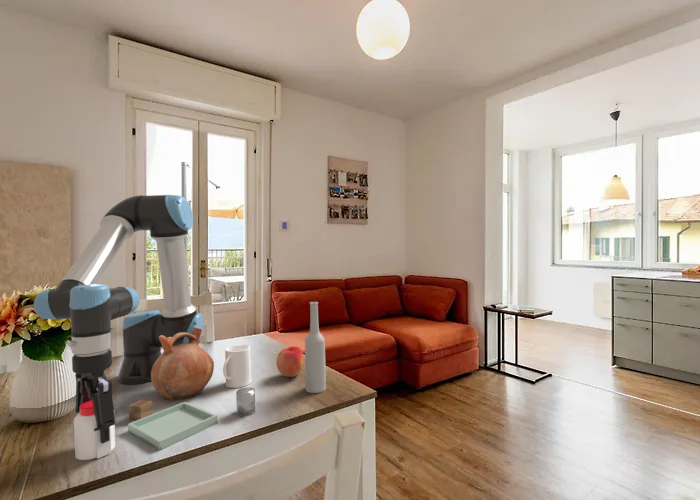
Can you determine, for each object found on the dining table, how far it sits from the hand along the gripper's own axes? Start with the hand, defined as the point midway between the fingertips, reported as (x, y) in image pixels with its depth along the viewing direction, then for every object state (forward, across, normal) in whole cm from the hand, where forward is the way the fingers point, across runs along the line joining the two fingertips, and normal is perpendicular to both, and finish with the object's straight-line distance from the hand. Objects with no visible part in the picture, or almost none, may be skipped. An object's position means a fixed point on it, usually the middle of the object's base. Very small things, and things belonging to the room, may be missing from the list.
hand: (95, 449), depth 86 cm
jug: (+1, -14, +30) cm, 33 cm away
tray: (0, +5, +16) cm, 17 cm away
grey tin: (0, +14, +32) cm, 35 cm away
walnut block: (0, -8, +14) cm, 16 cm away
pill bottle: (+1, 0, 0) cm, 1 cm away
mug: (+1, -5, +43) cm, 43 cm away
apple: (+1, +5, +59) cm, 59 cm away
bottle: (0, +20, +55) cm, 59 cm away
